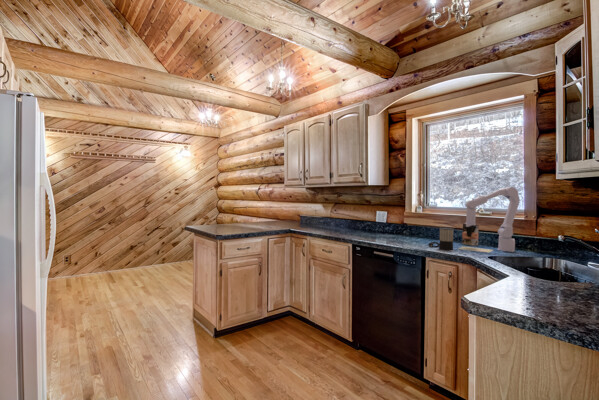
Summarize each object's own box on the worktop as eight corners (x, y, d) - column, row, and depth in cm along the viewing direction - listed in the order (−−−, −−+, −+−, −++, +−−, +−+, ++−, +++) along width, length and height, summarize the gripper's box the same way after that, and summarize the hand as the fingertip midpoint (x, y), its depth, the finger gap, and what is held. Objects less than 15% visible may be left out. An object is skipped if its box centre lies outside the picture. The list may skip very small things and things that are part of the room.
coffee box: (461, 244, 235) (462, 223, 235) (467, 244, 237) (468, 223, 237) (472, 246, 227) (472, 224, 226) (478, 245, 229) (479, 224, 229)
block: (478, 238, 215) (478, 233, 215) (476, 239, 212) (476, 233, 212) (464, 237, 222) (464, 231, 222) (462, 237, 218) (462, 232, 218)
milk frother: (454, 251, 206) (454, 229, 205) (429, 249, 211) (429, 228, 211) (451, 247, 219) (452, 227, 219) (427, 246, 224) (428, 226, 224)
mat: (493, 250, 211) (493, 249, 211) (489, 253, 200) (489, 252, 200) (463, 246, 223) (463, 246, 223) (457, 249, 212) (457, 248, 212)
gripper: (467, 216, 224) (467, 234, 225) (461, 217, 214) (461, 236, 214) (478, 217, 219) (477, 235, 220) (472, 218, 209) (472, 237, 209)
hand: (470, 236), depth 217 cm, fingers closed on block, 5 cm apart
